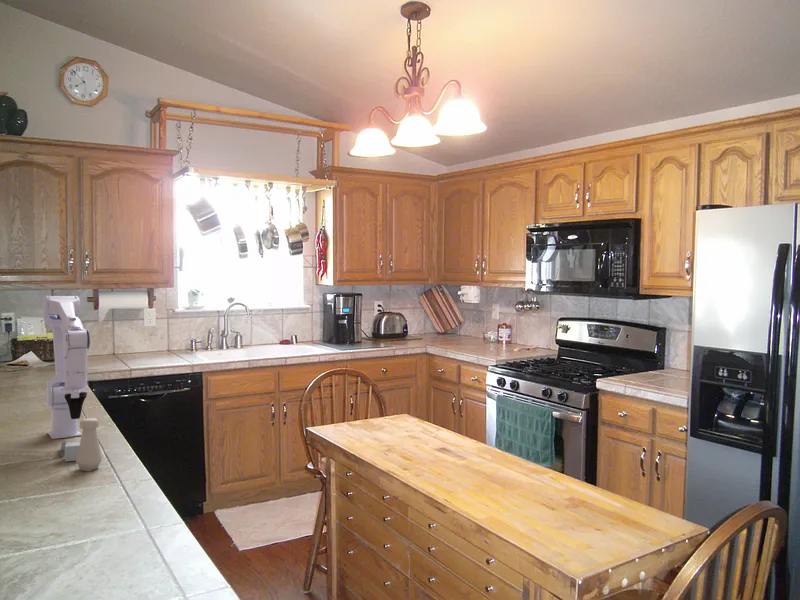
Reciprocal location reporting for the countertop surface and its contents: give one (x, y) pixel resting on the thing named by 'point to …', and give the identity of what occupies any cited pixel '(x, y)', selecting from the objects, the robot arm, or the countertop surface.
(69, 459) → the block
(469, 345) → the countertop surface
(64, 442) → the grey flat bars
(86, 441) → the salt shaker
